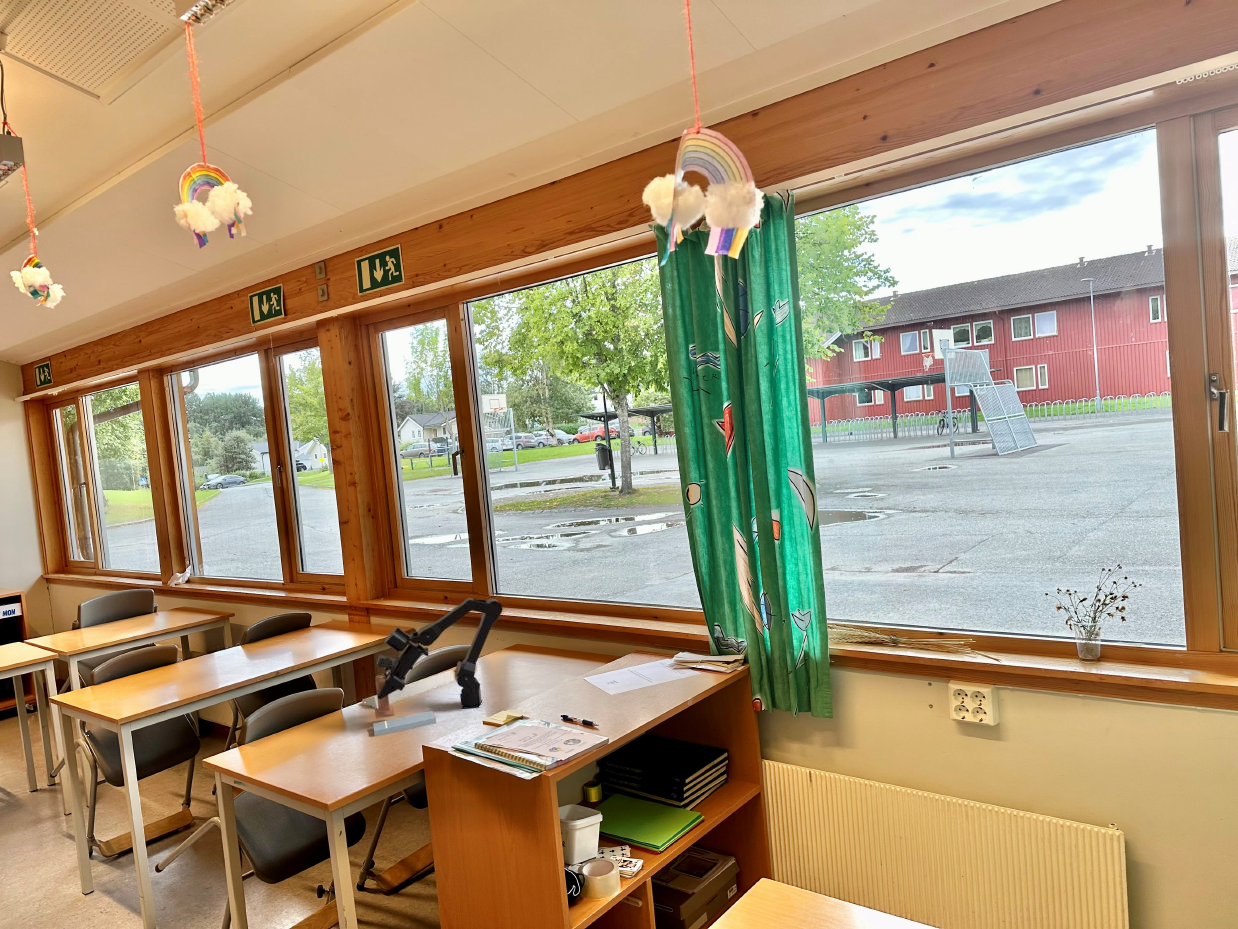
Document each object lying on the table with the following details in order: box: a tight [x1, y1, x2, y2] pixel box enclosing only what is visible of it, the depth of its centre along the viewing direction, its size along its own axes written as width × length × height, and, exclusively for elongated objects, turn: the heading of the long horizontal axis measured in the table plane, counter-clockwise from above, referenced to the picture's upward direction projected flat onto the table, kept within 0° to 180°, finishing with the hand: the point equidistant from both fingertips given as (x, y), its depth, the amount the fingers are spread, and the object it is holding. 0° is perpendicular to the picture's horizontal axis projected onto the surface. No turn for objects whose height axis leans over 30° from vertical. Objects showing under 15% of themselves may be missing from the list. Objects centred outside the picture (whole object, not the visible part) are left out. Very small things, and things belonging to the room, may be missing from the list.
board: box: [372, 710, 437, 737], centre depth 260 cm, size 20×8×2 cm, turn 110°
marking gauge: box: [374, 673, 395, 720], centre depth 265 cm, size 6×5×14 cm
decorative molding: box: [362, 670, 456, 709], centre depth 298 cm, size 34×5×10 cm
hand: (378, 697), depth 264 cm, fingers closed on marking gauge, 3 cm apart
